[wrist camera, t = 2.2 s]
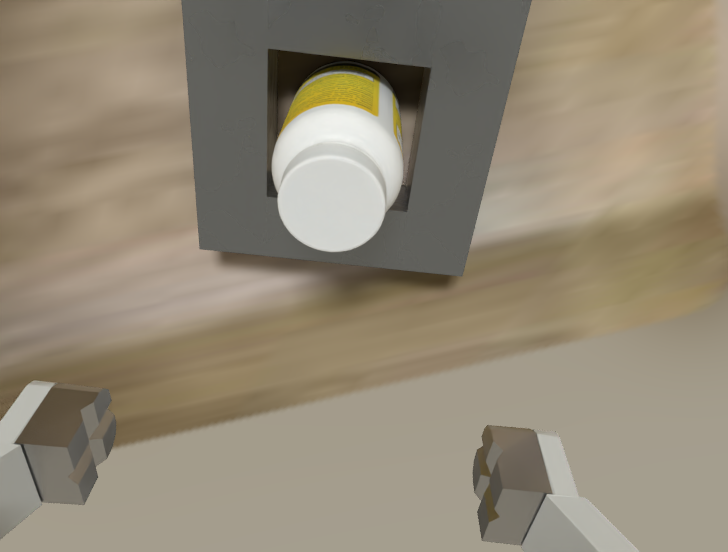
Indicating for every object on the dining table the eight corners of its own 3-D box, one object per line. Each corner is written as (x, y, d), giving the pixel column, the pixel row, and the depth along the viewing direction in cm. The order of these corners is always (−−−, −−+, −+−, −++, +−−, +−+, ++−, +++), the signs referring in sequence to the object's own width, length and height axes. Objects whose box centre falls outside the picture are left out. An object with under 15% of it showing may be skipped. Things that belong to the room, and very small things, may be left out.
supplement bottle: (270, 107, 28) (225, 196, 20) (352, 34, 26) (338, 100, 18) (341, 183, 31) (327, 290, 23) (422, 121, 29) (437, 215, 20)
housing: (198, -64, 24) (177, -57, 22) (519, -24, 25) (535, -13, 22) (213, 220, 32) (199, 249, 30) (456, 246, 33) (462, 276, 30)
